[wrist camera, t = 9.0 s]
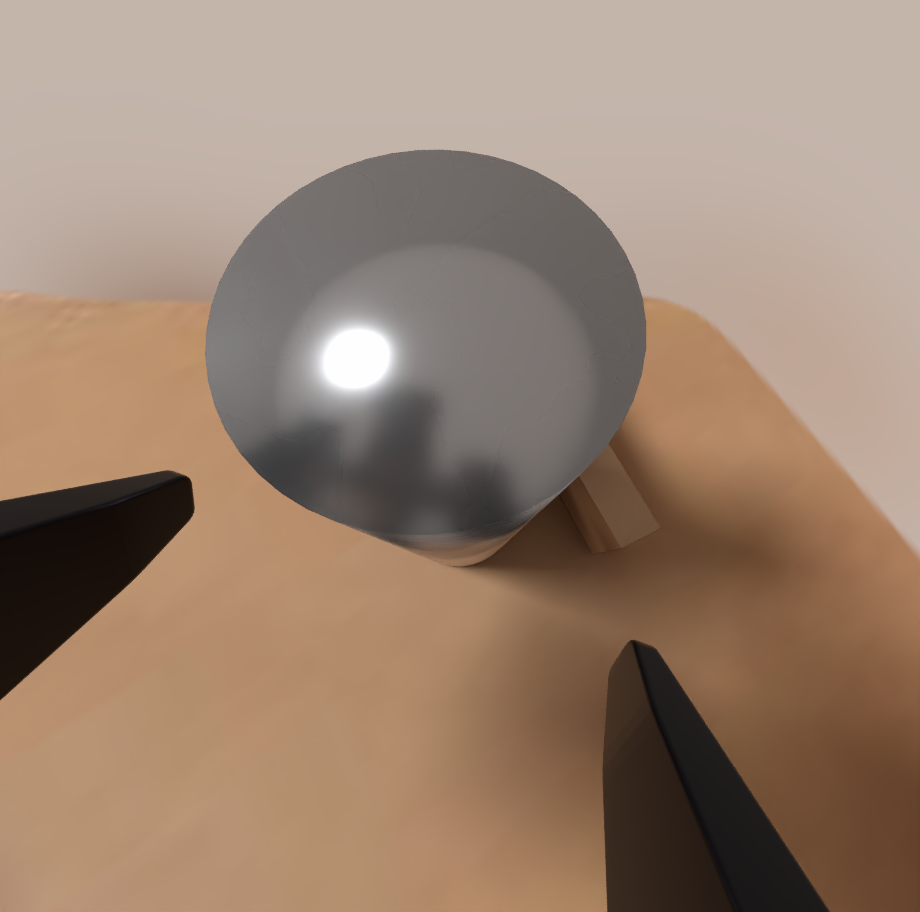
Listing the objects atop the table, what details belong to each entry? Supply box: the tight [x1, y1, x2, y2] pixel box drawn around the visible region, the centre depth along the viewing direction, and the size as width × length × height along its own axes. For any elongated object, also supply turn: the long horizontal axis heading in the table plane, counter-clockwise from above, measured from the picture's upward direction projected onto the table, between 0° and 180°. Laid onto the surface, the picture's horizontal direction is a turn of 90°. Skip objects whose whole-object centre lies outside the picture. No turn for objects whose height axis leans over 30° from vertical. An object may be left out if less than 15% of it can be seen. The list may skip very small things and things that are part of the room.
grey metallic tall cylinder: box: [205, 150, 646, 566], centre depth 11 cm, size 5×5×14 cm
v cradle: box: [559, 443, 661, 554], centre depth 17 cm, size 8×14×4 cm, turn 71°
